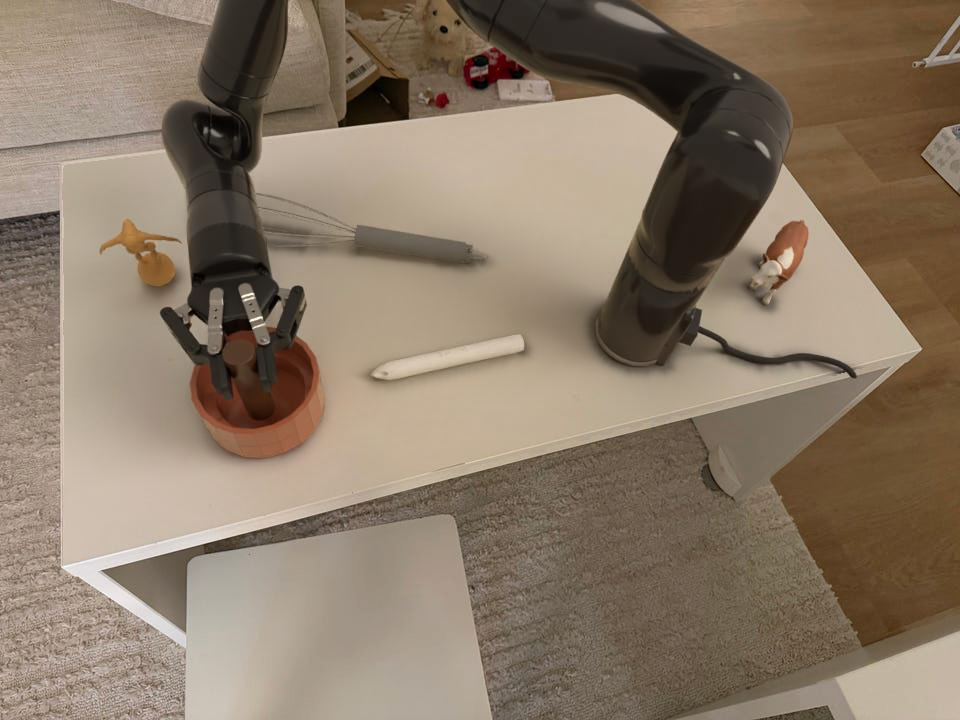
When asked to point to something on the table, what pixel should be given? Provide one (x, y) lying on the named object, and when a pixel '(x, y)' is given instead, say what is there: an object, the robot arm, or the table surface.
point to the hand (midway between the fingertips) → (247, 390)
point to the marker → (449, 357)
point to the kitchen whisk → (388, 239)
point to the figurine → (151, 265)
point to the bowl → (292, 396)
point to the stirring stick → (248, 378)
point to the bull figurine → (781, 258)
